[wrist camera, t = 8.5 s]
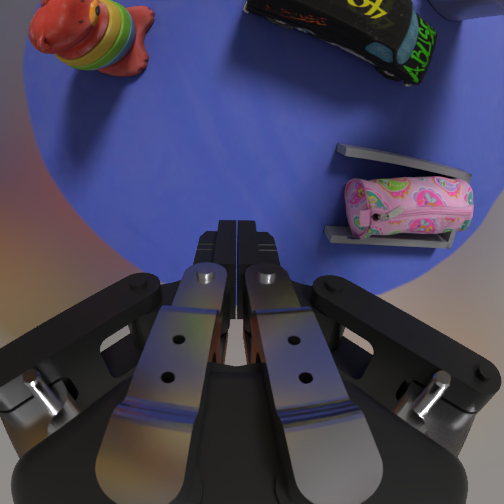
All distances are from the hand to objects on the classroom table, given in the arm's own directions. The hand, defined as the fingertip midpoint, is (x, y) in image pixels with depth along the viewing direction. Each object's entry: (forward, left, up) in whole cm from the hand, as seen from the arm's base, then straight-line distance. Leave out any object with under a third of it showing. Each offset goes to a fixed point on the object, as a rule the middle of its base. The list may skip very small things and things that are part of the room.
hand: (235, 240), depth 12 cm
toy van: (-20, +13, -28) cm, 37 cm away
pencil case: (+5, +26, -28) cm, 39 cm away
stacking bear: (-16, -17, -28) cm, 37 cm away
